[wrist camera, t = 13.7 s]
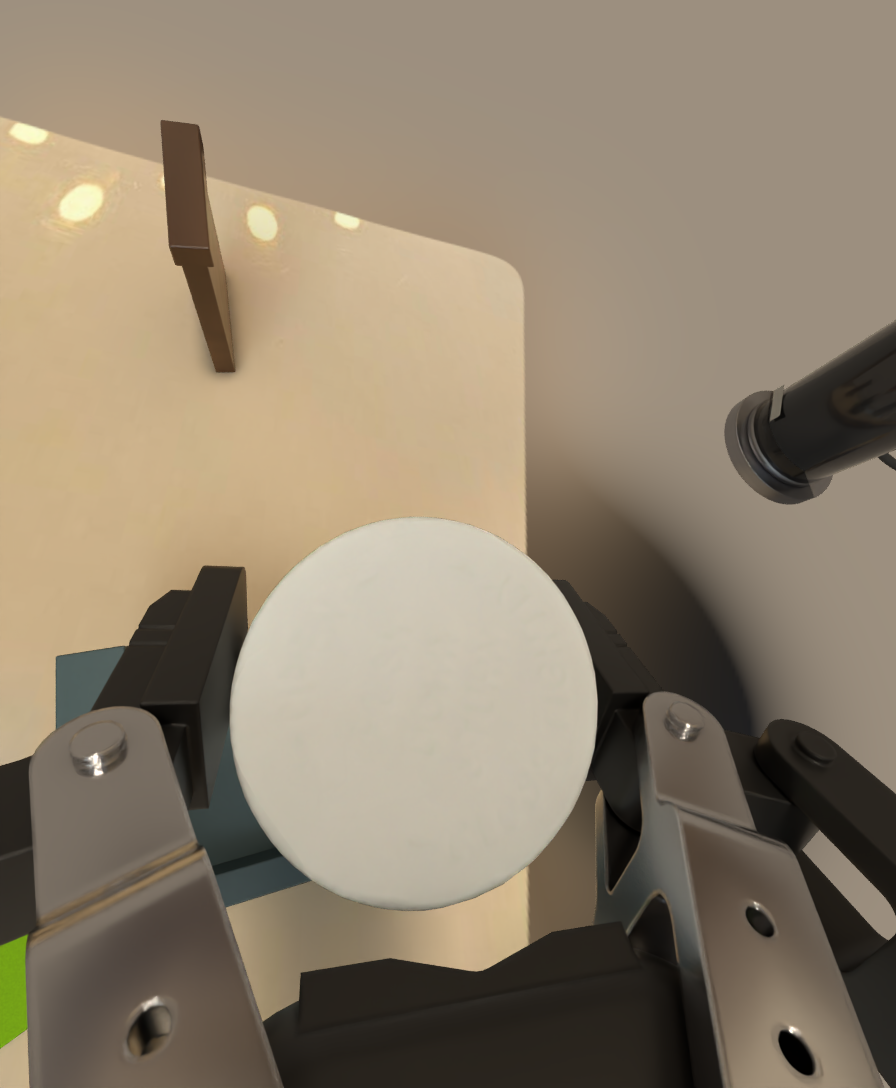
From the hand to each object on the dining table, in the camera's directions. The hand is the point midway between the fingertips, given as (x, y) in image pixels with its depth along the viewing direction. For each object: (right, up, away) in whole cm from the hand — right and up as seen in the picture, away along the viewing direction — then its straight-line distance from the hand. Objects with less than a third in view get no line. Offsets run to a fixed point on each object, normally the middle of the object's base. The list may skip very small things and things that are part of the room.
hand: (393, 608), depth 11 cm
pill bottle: (-2, -4, +7) cm, 8 cm away
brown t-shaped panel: (-15, +17, +23) cm, 32 cm away
